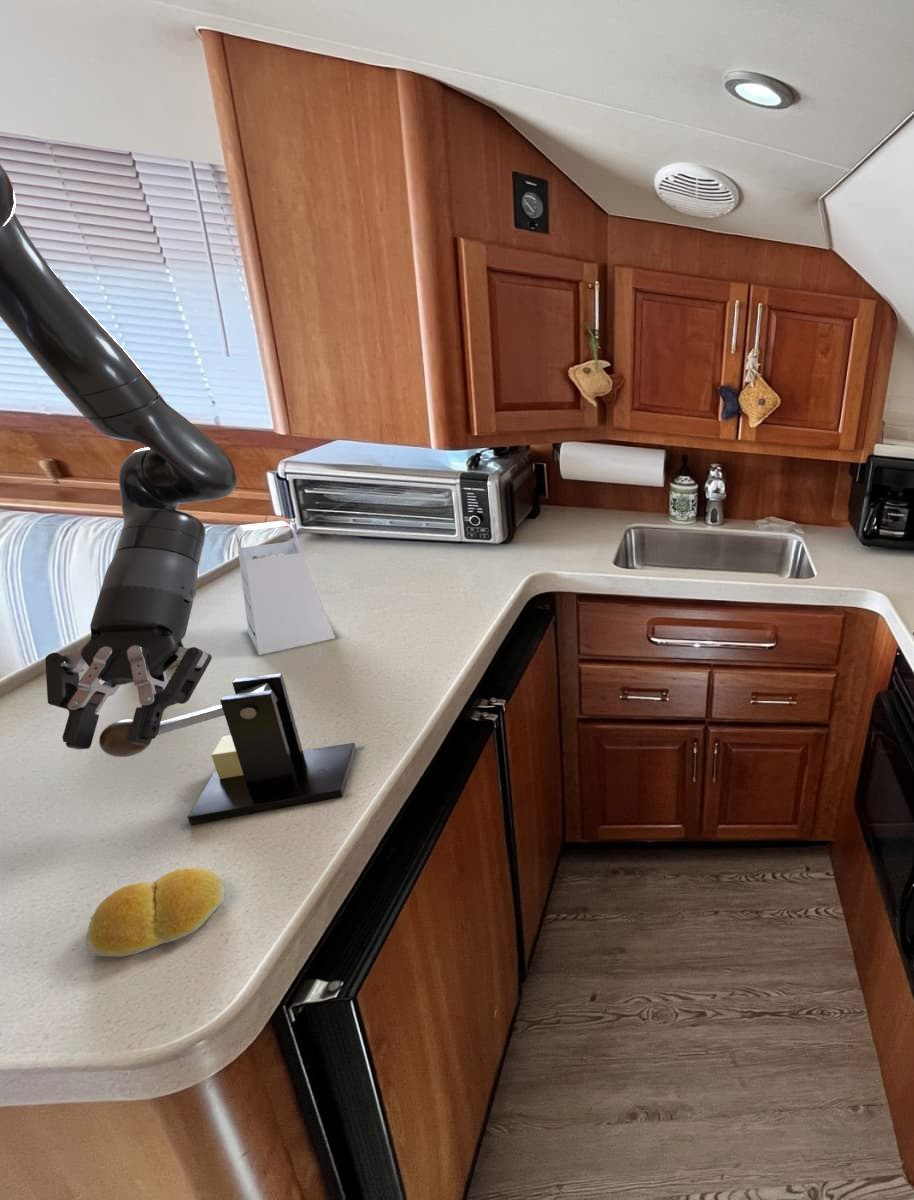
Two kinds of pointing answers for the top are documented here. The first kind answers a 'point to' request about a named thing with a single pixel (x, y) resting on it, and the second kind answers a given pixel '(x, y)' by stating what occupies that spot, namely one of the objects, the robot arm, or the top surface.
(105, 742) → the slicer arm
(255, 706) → the slicer
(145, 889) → the bread roll
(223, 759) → the butter
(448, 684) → the top surface
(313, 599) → the grater
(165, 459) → the robot arm
